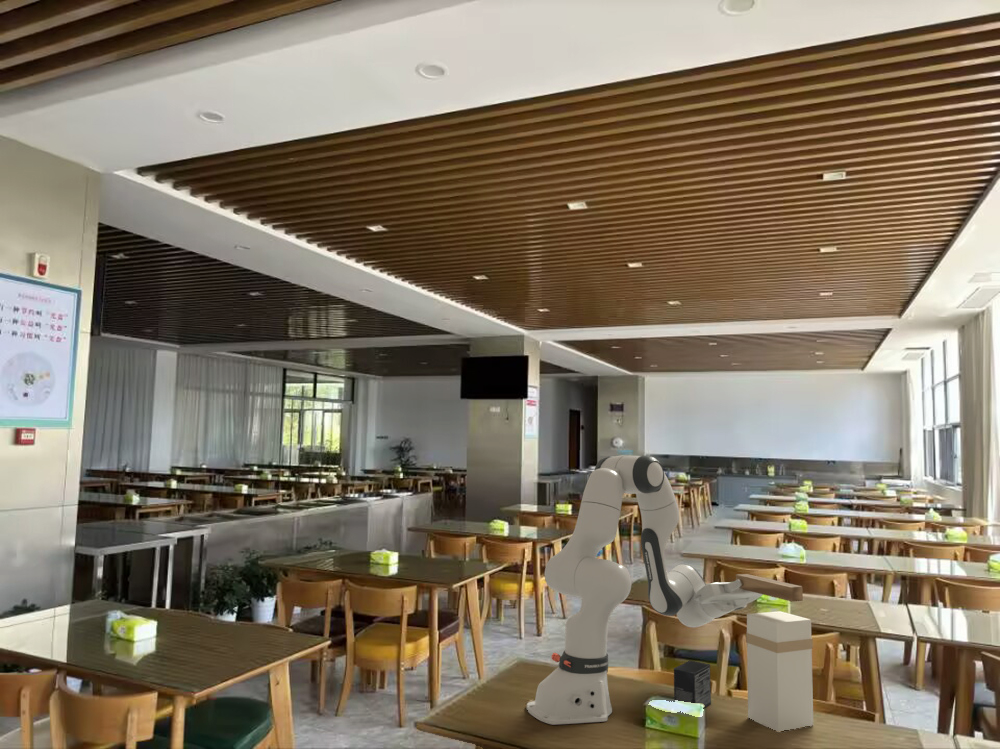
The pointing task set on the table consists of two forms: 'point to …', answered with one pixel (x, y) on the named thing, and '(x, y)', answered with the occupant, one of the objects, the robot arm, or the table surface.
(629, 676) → the table surface
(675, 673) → the small box
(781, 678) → the carton
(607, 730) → the table surface
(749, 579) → the flap bar
